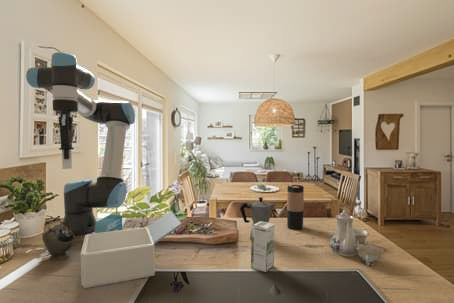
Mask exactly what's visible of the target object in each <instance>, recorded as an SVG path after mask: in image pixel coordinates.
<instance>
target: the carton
mask: <svg viewBox="0 0 454 303" xmlns="http://www.w3.org/2000/svg"><path fill="white" fill-rule="evenodd" d="M155 244H156V243H154V240H153V238H152V236H151V234H150V231H149V229H148V226H145V227H137V228H129V229H127V228H126V229H122V230H119V231H110V232H102V233H95V232H94V233H86V234H84V239H83V243H82V247H81V250H80V279H81V280H80V283H81V287H83V289H89V288H94V287H99V286H106V285H110V284H116V283H117V284H118V283H120V282H128V281H133V280H137V279H142V278H149V277H154V276H156V264H155V262H156V259H155V246H156V245H155ZM148 276H149V277H148Z"/></svg>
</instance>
